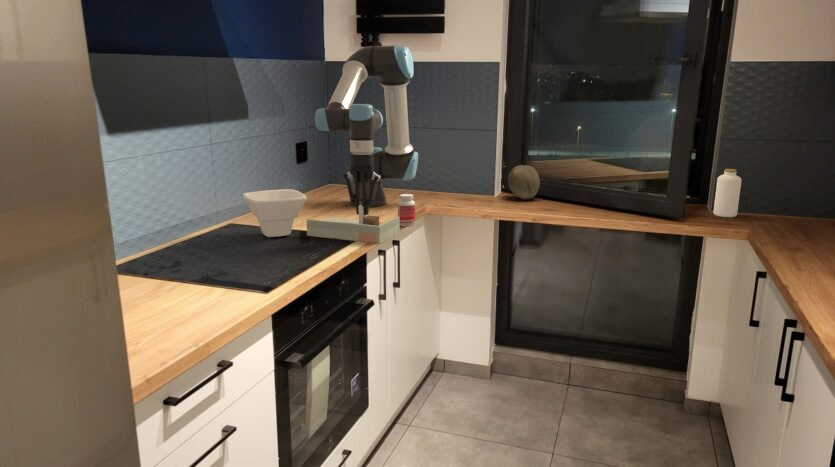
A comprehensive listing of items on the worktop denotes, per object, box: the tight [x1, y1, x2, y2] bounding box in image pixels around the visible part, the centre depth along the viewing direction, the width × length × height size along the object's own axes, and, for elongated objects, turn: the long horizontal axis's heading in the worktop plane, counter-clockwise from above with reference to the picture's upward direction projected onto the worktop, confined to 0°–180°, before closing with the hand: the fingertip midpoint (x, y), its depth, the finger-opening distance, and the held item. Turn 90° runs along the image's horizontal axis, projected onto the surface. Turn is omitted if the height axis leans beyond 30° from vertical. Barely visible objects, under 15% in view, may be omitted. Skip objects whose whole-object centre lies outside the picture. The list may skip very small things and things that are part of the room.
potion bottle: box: [713, 168, 742, 218], centre depth 241 cm, size 8×8×18 cm
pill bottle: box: [397, 193, 416, 228], centre depth 225 cm, size 6×6×11 cm
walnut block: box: [363, 214, 380, 226], centre depth 207 cm, size 4×4×4 cm
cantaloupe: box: [507, 164, 541, 201], centre depth 273 cm, size 14×14×15 cm
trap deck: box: [306, 216, 401, 244], centre depth 213 cm, size 16×27×6 cm, turn 68°
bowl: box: [242, 188, 307, 238], centre depth 209 cm, size 19×19×14 cm
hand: (362, 224), depth 208 cm, fingers closed
